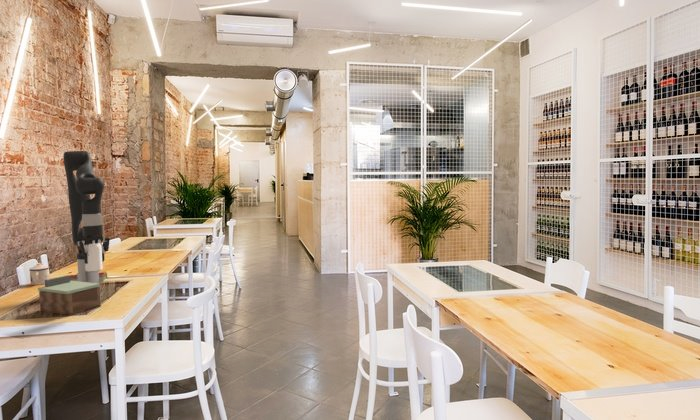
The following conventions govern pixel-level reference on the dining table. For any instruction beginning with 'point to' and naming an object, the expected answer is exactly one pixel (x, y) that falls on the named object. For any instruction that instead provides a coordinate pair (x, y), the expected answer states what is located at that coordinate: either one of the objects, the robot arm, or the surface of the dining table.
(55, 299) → the chest
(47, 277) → the teacup with lid
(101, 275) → the hardcover book
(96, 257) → the can
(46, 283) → the lid
